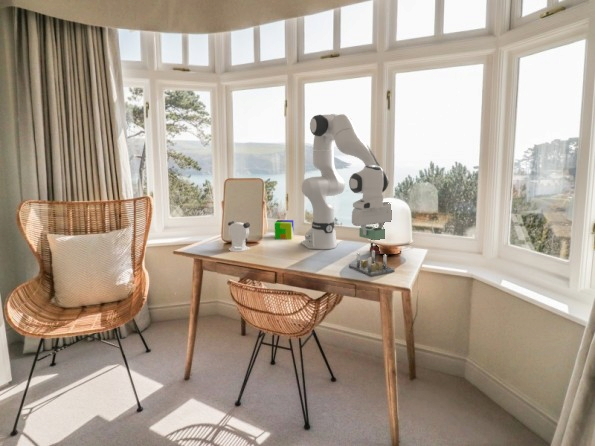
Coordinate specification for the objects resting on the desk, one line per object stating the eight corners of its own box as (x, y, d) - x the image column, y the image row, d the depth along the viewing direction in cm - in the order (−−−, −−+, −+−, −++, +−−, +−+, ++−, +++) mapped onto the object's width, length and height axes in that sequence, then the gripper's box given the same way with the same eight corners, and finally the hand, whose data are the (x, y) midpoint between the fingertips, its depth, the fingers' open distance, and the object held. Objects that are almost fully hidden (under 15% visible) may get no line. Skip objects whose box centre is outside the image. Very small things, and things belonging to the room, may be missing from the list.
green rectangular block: (359, 236, 175) (359, 226, 174) (369, 234, 178) (369, 224, 178) (375, 240, 167) (375, 229, 166) (385, 238, 170) (385, 228, 169)
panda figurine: (254, 247, 217) (253, 221, 214) (244, 252, 207) (243, 224, 204) (235, 245, 222) (234, 219, 219) (224, 250, 211) (223, 223, 208)
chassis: (349, 266, 179) (349, 252, 178) (371, 262, 186) (371, 248, 184) (371, 276, 166) (371, 260, 164) (394, 271, 172) (395, 256, 170)
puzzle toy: (293, 235, 245) (293, 220, 243) (291, 239, 235) (291, 223, 233) (278, 235, 246) (277, 220, 244) (275, 239, 237) (274, 223, 235)
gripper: (386, 200, 177) (385, 229, 180) (349, 203, 168) (349, 235, 170) (395, 201, 172) (394, 232, 175) (358, 205, 162) (358, 237, 165)
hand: (372, 233), depth 172 cm, fingers closed on green rectangular block, 6 cm apart
